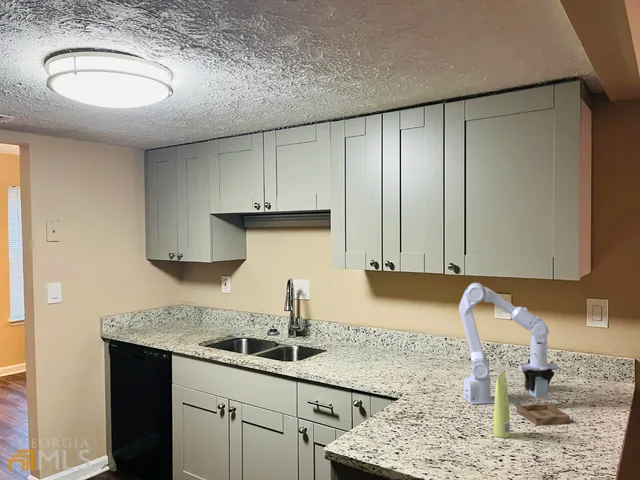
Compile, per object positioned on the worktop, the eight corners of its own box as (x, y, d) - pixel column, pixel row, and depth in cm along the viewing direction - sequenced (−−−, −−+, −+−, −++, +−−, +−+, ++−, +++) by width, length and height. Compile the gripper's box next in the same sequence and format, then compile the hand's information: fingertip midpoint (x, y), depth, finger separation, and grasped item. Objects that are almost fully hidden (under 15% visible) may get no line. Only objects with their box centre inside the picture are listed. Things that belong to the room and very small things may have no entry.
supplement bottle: (532, 393, 192) (532, 362, 192) (521, 387, 198) (521, 358, 198) (547, 391, 194) (547, 361, 193) (535, 386, 200) (535, 357, 200)
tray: (536, 425, 160) (536, 418, 160) (516, 411, 172) (516, 405, 172) (569, 422, 162) (569, 416, 162) (547, 409, 174) (547, 403, 174)
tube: (489, 431, 156) (489, 370, 156) (504, 430, 156) (504, 370, 156) (497, 438, 150) (497, 376, 150) (513, 438, 151) (513, 375, 150)
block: (536, 397, 175) (536, 381, 175) (528, 393, 180) (529, 377, 180) (547, 397, 176) (547, 380, 176) (540, 392, 180) (540, 376, 180)
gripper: (526, 356, 172) (525, 394, 173) (563, 355, 175) (563, 392, 175) (515, 351, 179) (515, 388, 180) (551, 350, 182) (551, 386, 182)
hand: (538, 390), depth 178 cm, fingers closed on block, 4 cm apart
